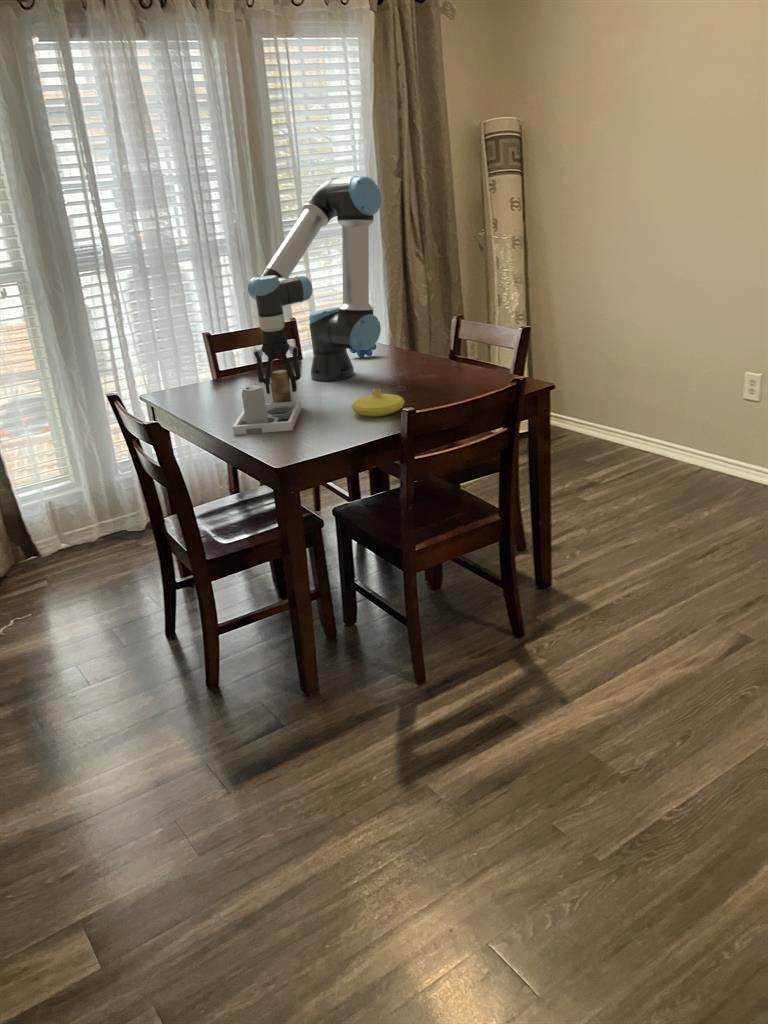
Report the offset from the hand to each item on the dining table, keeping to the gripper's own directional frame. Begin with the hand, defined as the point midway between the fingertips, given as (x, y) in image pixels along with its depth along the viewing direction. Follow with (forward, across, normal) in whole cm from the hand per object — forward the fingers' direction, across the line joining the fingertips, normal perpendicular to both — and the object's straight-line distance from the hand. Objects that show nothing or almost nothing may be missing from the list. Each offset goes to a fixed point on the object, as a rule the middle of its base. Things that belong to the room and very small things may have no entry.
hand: (283, 402), depth 271 cm
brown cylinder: (+1, 0, 0) cm, 1 cm away
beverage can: (+2, +5, +20) cm, 21 cm away
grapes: (+2, -22, -59) cm, 63 cm away
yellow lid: (+2, -30, +15) cm, 34 cm away
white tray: (+1, +2, +15) cm, 15 cm away
